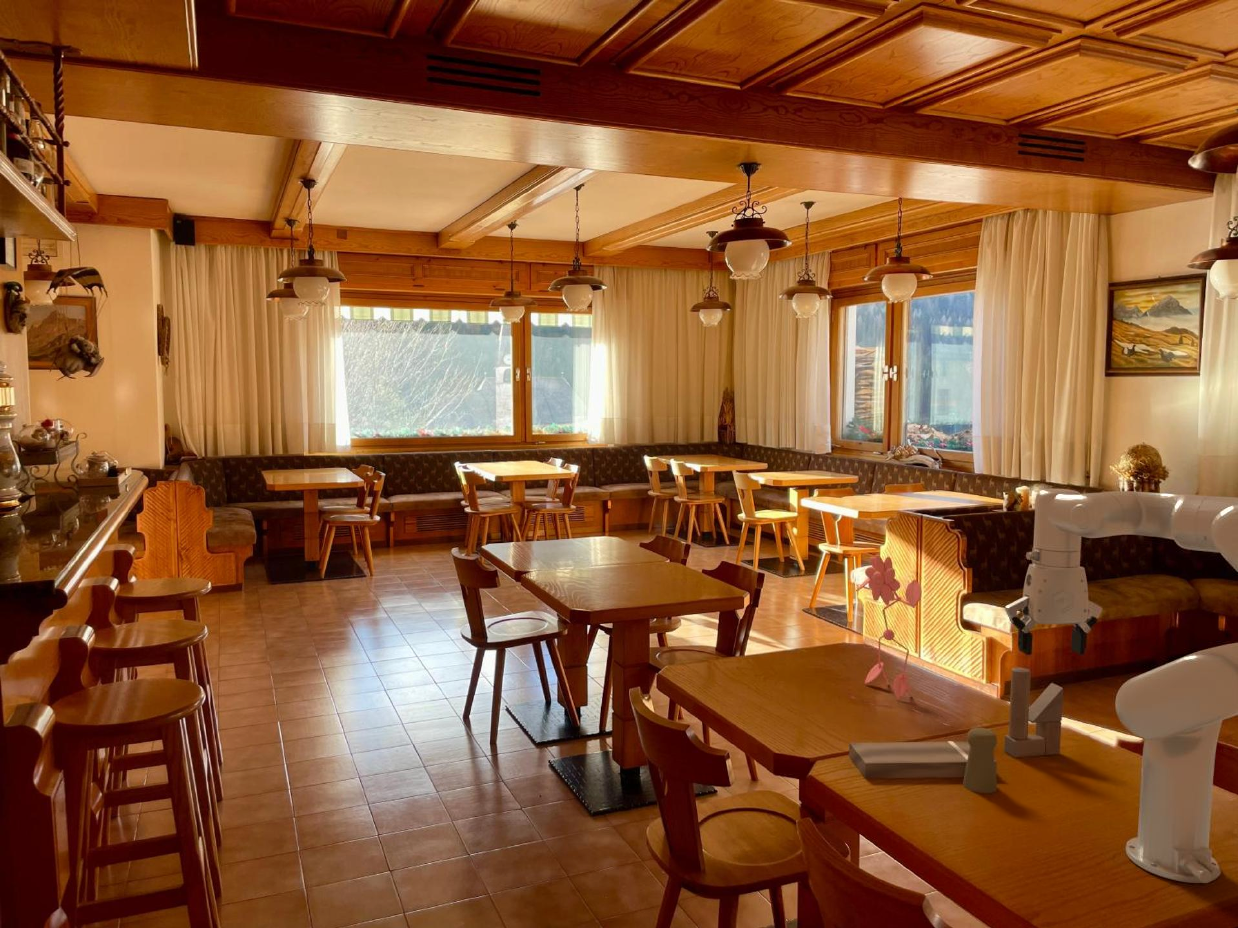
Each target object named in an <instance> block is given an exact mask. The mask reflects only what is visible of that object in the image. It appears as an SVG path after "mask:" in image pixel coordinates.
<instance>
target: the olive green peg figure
mask: <svg viewBox="0 0 1238 928" xmlns="http://www.w3.org/2000/svg"><path fill="white" fill-rule="evenodd" d="M966 740H967V742H968V743H969V745H970V749H969V754H968V759H967V765H966V770H965V775H964V777H963V781H962V784H963V786H964V787H965V789H968V790H969V791H972V792H975V793H979V794H993V793H995V792H997V791H998V787H997V785H998V784H997V771H996V772H995V762H994V760H995V754H994V753H995V751H994V750H995V748H996V747H997V744H998V739H997V735H996V734H995V732H994V731H992V730H990V729H987V728H984V727H974V728H971V729H970V730H968V733H967V739H966Z"/></svg>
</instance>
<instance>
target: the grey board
mask: <svg viewBox="0 0 1238 928" xmlns="http://www.w3.org/2000/svg"><path fill="white" fill-rule="evenodd" d="M848 746H849V748H848V749H849V750H848V754H849V755H848V758H849V759H850V760H851V762H852V764H854V765H855V767H856V768H857V769H858V771H859V773H860V774H861V775H862V776H863V777H864V778H865V779H906V778H907V779H914V778H915V779H916V778H918V779H919V778H920V779H921V778H922V779H925V778H964V775H965V770H966V765H967V759H968V754H969V749H970V745H969V743H968V741H952V740H947V741H909V742H907V741H903V742H901V741H900V742H898V741H897V742H895V741H892V742H890V741H889V742H887V741H886V742H849V745H848ZM994 762H995V772H996V773H997V766H998V764H997V763H998V762H997V761H996V759H994Z"/></svg>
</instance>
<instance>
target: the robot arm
mask: <svg viewBox="0 0 1238 928" xmlns="http://www.w3.org/2000/svg"><path fill="white" fill-rule="evenodd" d="M1034 506H1035V507H1034V509H1035V510H1034V526H1033V528H1034V529H1033V547H1032V551H1026V555H1025V557H1026V559H1027V560H1029V561H1030V560H1031V562H1032V563H1030V564H1028V568H1027V571H1026V575H1025V578H1024V579H1025V580H1024V585H1023V591H1022V597H1020V598H1019V599H1017V600H1015V601H1013V602H1011V603H1009V604H1007V605H1005V606H1004V610H1005V613H1006V614H1007V617H1008V618H1009V621H1010V622H1011V624H1012V625H1013V626H1015V628H1016V629H1017V631H1018V632H1017V647H1018V649H1019V652H1021V653H1023V654H1024V655H1027V656H1031V655H1032V654H1033V653H1032V652H1033V633H1032V632H1031V630H1032V629H1033V628H1034V626H1036V624H1040V625H1073V626H1074V627H1075V628H1074V627H1073V628H1072V630H1071V643H1070V645H1071V646H1070V650H1071V651H1072V652H1074V653H1076V654H1078V655H1080V656H1084V655H1086V653H1085V652H1086V648H1087V637H1088V633H1090V632H1091V629H1092V627H1094V626H1095V625H1096V623H1098V618H1100V616H1101V614H1102V613H1103V607H1102V606H1100V605H1098V604H1097V603H1095V602H1093V601H1092V600H1089V590H1088V589H1089V588H1088V581H1087V576H1086V569H1085V567H1084V566H1080V565H1081V549H1082V537H1083V538H1087V539H1088V538H1089V539H1097V538H1106V537H1113V536H1123V535H1133V536H1134V535H1135V536H1144V537H1145V536H1146V537H1155V538H1156V537H1157V538H1163V539H1168V540H1169V539H1170V540H1174V542H1175V543H1176V545H1177V546H1179V547H1180V548H1182V549H1186V550H1192V551H1199V552H1200V551H1202V552H1212V553H1220V554H1221V556H1222V557H1223V558H1224V559H1225V561H1227V562H1228V564H1230V566H1231V567H1233V569H1235V571H1236V572H1237V573H1238V497H1232V496H1216V495H1215V496H1214V495H1203V494H1187V493H1186V494H1184V493H1183V494H1176V493H1164V492H1150V491H1149V492H1148V491H1130V490H1129V491H1128V490H1125V491H1124V490H1119V491H1117V490H1116V491H1115V490H1114V491H1104V492H1091V493H1080V492H1079V491H1077V490H1074V489H1069V488H1068V489H1067V488H1042V489H1041V490H1039V491H1038V492H1037V493H1036V496H1035V505H1034ZM1020 610H1021V613H1022V616H1021V618H1020V617H1019V616H1018V611H1020ZM1114 704H1115V707H1114V708H1115V712H1116V715H1117V717H1118V719H1119V721H1120V723H1121V724H1122V725H1123V726H1124V728H1126V730H1128V731H1130V732H1131V733H1132V734H1134V735H1135V736H1137V737H1140V738H1143V739H1144V741H1143V747H1142V760H1141V762H1142V763H1141V776H1140V777H1141V778H1140V793H1139V794H1140V795H1139V811H1138V812H1139V813H1138V814H1139V815H1138V825H1137V826H1138V830H1137V836H1136V837H1133V838H1130V839H1129V840H1127V842H1126V844H1125V852H1126V855H1127V856H1128V858H1129V859H1130V860H1131V861H1132V862H1133V863H1134V864H1135V865H1137V866H1139V867H1140V868H1141V869H1142V870H1145V871H1147V872H1149V873H1151V874H1154V875H1156V876H1159V877H1162V878H1165V879H1169V880H1172V881H1177V882H1181V883H1182V882H1183V883H1188V884H1189V883H1191V884H1192V883H1193V884H1208V883H1210V882H1212V881H1214V880H1216V879H1217V878H1218V877H1219V876H1220V875H1221V873H1222V871H1221V869H1220V865H1219V863H1218V861H1216V859H1215V858H1213V857H1212V854H1213V850H1212V849H1210V848H1209V846H1210V845H1209V844H1210V831H1211V830H1210V829H1211V815H1212V814H1211V812H1212V803H1213V802H1212V799H1213V785H1214V772H1215V760H1216V751H1217V746H1218V745H1217V743H1218V739H1219V735H1220V731H1221V729H1222V728H1221V727H1222V723H1223V721H1224V720H1226V719H1230V718H1232V717H1235V716H1238V642H1234V643H1229V644H1223V645H1219V646H1213V647H1210V648H1207V649H1203V650H1198V651H1196V652H1193V653H1190V654H1187V655H1185V656H1182V657H1180V658H1177V659H1175V660H1173V661H1170V662H1167V663H1165V664H1164V665H1163V664H1162V665H1161V666H1158V667H1155V668H1153V669H1151V670H1149V671H1146V672H1144V673H1141V674H1139V675H1136V676H1134V677H1131V678H1130V679H1128V680H1127V681H1126V682H1124V683H1123V684H1122V685H1121V687H1120V688H1119V689H1118V691H1117V694H1116V697H1115V703H1114Z"/></svg>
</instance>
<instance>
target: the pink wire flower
mask: <svg viewBox="0 0 1238 928" xmlns="http://www.w3.org/2000/svg"><path fill="white" fill-rule="evenodd" d="M869 562H870V564H871V566H869V567H867V568H866V569H865V572H864V574H865V576H866V577H867V578H866V579H865V580H864V581H863V582H862V583H861V584H860V585H859V586H858V587H857V589H856V590H855V592H858V591H860V590H861V589H863V588H864V587H865V586H867V585H868V587H869V589H870V590H871V594H872V595H871V596H872V599H873V601H875V602H877V601H879V599H881V600H882V602H883V603H884V604H885V605H886V606H885V607H883V609H882V615H883V620H884V623H885V630H883V633H882V635H881V636H879V638H878V662H877V664H875V665H874V666H873V667H872V668H871V669H870V670H869V672H868V673H867V676H866V678H865V680H864V685H868V684H870V683H872V682H874V681H875V680H876V679H877V678H879V676H880V675H881V673H882V675H883V678H884V679H885V682H886V685H887V686H889V685H890V682H889V680H888V677H887V675H886V673H885V671H884V668H885V667H884V666H885V663H884V662H882V661H881V639H883V638H884V640H886V641H893V642H895V643H896V644H897V645H899V646H900V647H902V648H903V649H904V650H906V651H907V652H906V656H905V659H904V665H903V669H902V673H900V674H898V675H897V676H896V678H895V679H894V682H893V684H892V686H893V689H892V690H893V692H894V695H895V697H896V700H897V701H899V700H901V698H903V697H904V696H905V695H906V694H908V696H909V697H910V698H911V697H913V695H912V692H911V691H910V687H909V686H910V681H909V676H908V675H907V674H906V673H905V671H906V667H907V663H908V657H909V654H910V650H909V649H908V648H907V647H905V645H903V644H901V643H900V642H899V641H897V640H896V639H894V638H895V631H893V630H892V629H889V626H888V621H887V616H886V611H885V610H886V609H888V608H890V607H892V606H893V605H895V603H898V602H900V603H903V604H905V605H907V606H910V607H911V608H914V609H915V607H916V606H917V605H918V603H919V602H920V600H921V597H922V594H923V593H922V587H921V585H920V583H919V582H917V580H916V579H913V580H912V581H911V582H910V583H908V585H907V586H906V589H905V599H906V600H903V599H902V597H900V596H899V595H898V594H897V592H896V591H898V590H899V589H901V583H900V581H899V580H897V579H896V578H895V577H896V570H895V568H893V562H892V558H891V557H890V556H886V557H885V559H884V560H883V558H882V557H881V555H879V554H875V555H874V556H872V557H871V556H870V560H869ZM890 601H891V602H890ZM845 691H846V692H848V691H847V690H846V689H845ZM849 695H850V696H851V698H852V699H855V700H856V699H857V700H859V701H861V702H865V703H867V704H869V705H873V706H874V705H875V706H878V704H877V703H873V702H869V701H865V700H863V699H860V698H858V697H855V696H853V695H852V694H851V693H849ZM879 706H881V707H884V705H882V704H879ZM885 707H888V708H892V705H891V706H889V705H885Z"/></svg>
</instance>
